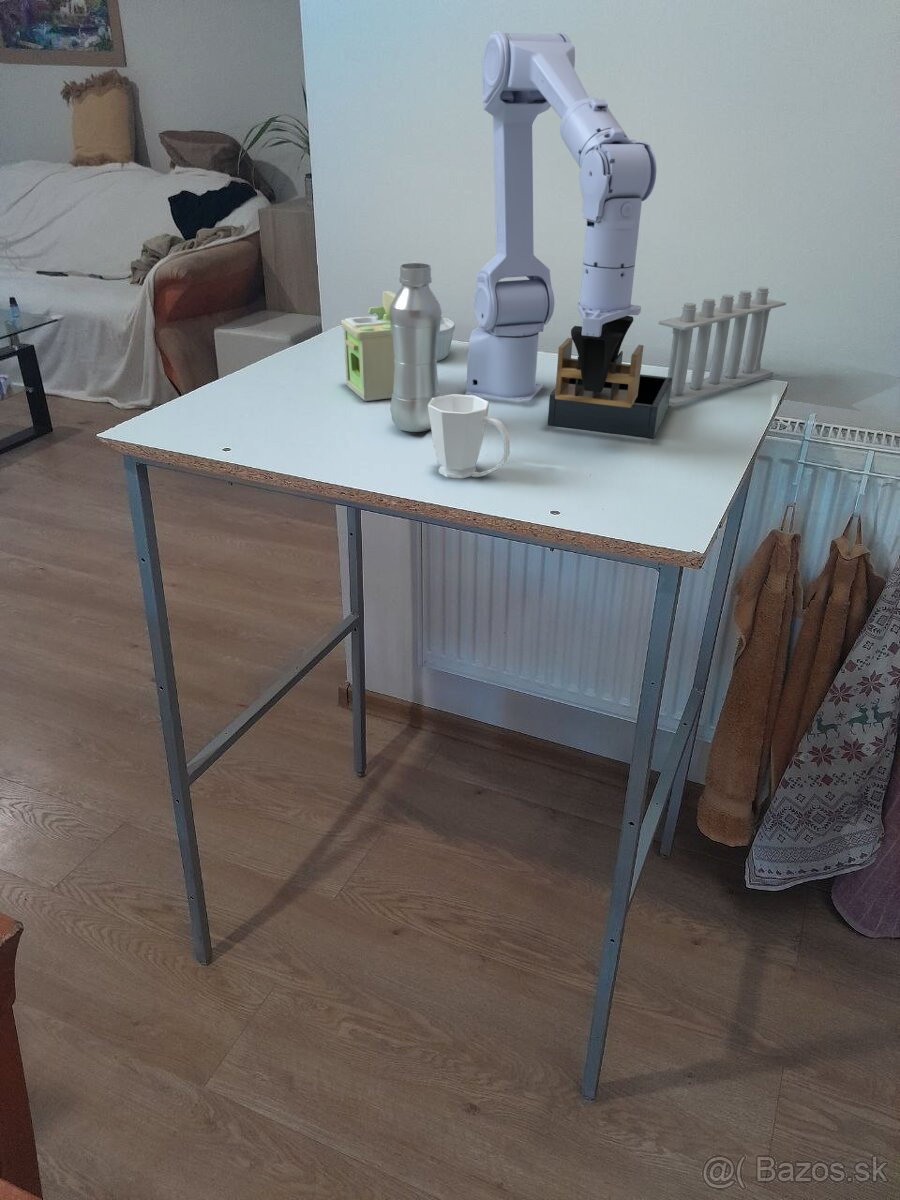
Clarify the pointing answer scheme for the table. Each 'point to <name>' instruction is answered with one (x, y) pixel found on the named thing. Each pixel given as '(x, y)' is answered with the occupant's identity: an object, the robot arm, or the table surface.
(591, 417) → the dark grey open box
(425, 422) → the silver bottle
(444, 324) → the ramekin
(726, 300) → the test tube rack
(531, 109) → the robot arm
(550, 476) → the table surface
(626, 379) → the dish rack
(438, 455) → the cup
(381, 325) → the toy sink
